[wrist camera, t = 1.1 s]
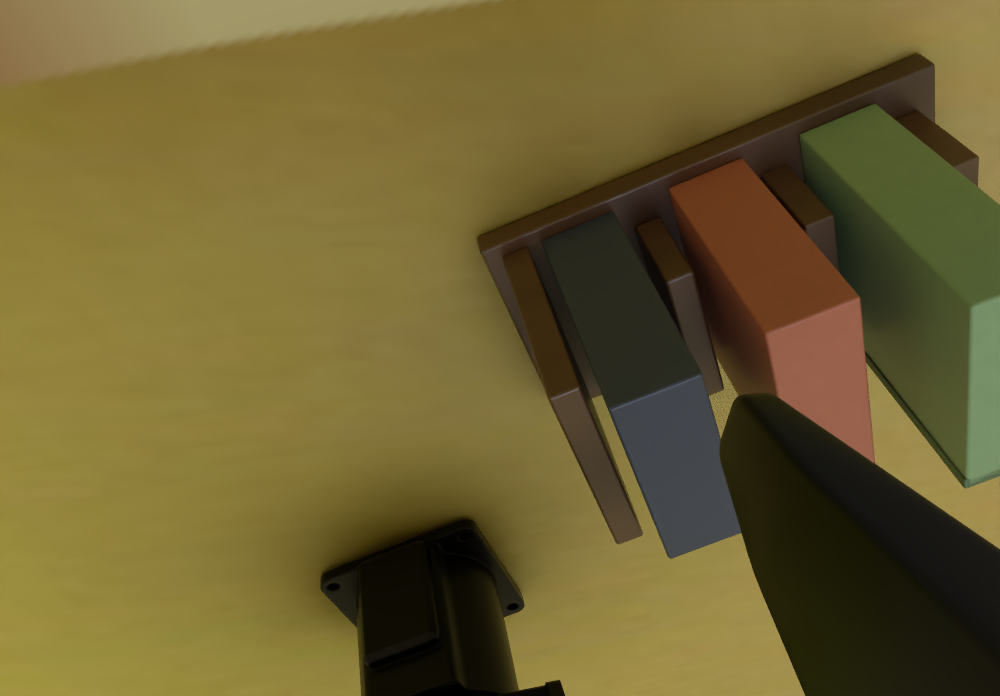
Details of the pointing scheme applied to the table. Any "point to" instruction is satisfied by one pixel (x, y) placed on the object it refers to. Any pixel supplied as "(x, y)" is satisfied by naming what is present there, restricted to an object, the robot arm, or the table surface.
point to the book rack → (662, 254)
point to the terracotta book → (775, 302)
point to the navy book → (646, 383)
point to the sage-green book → (918, 279)
